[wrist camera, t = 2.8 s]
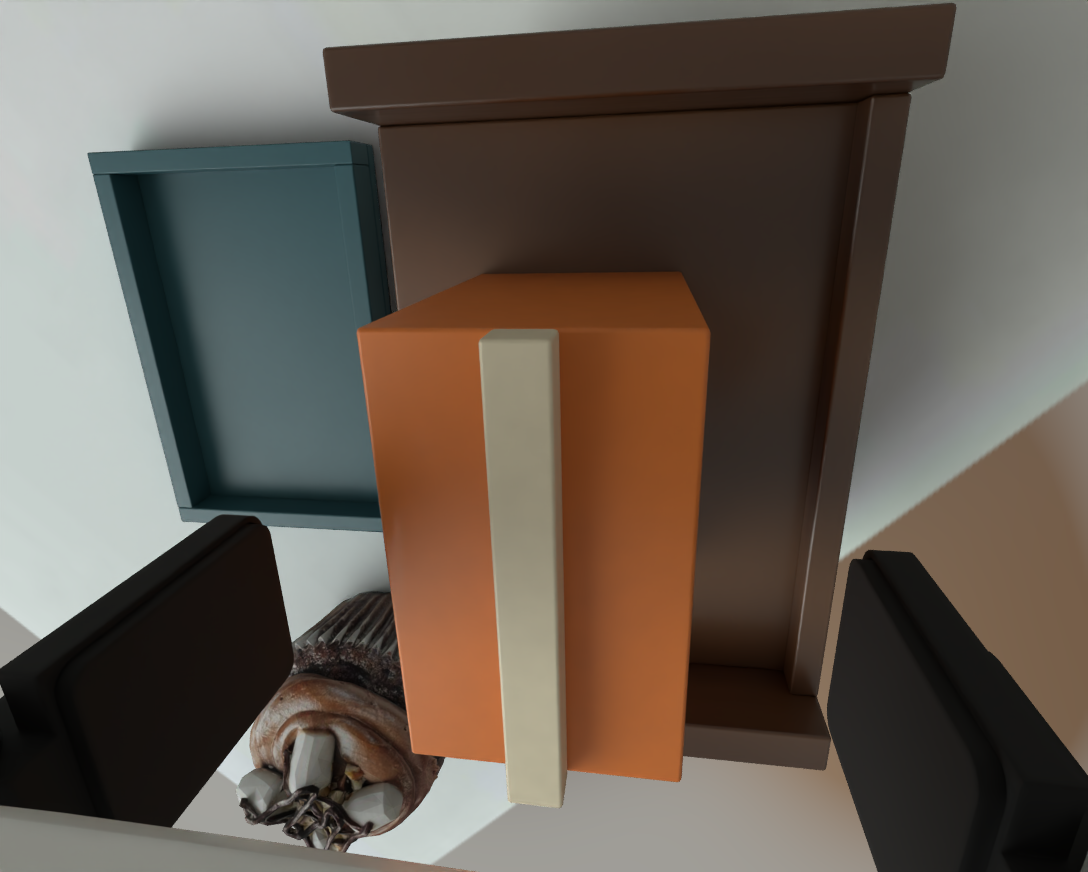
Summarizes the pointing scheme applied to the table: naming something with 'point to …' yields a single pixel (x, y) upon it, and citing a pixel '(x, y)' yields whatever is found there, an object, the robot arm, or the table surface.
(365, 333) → the packet
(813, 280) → the shelf
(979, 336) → the table surface
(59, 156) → the table surface
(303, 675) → the cupcake
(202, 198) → the tray
